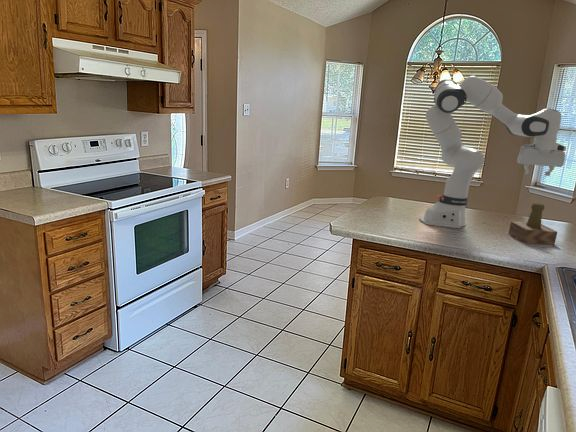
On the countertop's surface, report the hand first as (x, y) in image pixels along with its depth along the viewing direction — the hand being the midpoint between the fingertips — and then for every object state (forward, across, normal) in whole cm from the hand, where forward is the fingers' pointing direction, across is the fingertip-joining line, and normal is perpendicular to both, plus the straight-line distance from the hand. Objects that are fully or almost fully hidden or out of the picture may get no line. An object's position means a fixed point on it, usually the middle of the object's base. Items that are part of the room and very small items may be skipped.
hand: (537, 174), depth 198 cm
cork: (+23, 0, -7) cm, 24 cm away
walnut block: (+29, 0, -8) cm, 30 cm away
